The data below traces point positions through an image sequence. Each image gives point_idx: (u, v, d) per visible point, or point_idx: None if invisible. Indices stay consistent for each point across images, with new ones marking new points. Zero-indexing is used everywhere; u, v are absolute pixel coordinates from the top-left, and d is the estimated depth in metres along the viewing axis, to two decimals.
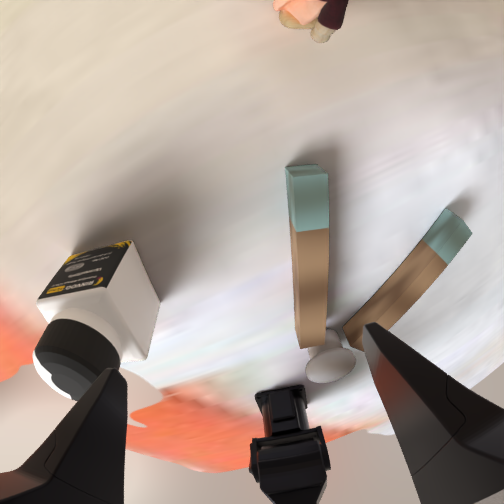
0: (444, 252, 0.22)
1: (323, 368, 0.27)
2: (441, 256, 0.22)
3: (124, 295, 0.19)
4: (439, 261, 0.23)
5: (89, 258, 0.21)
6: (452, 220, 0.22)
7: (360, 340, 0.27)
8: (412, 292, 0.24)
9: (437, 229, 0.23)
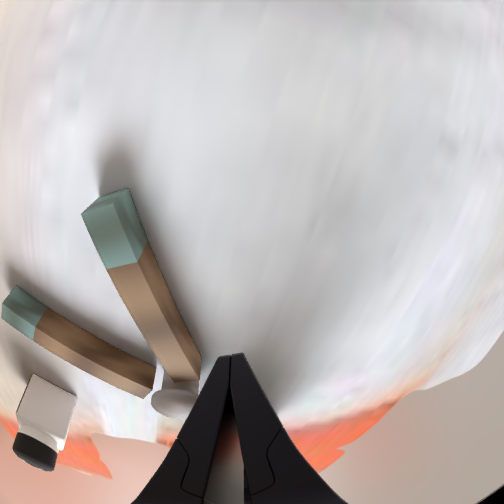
0: (111, 259, 0.17)
1: (171, 409, 0.24)
2: (114, 265, 0.17)
3: (32, 409, 0.23)
4: (120, 271, 0.17)
5: None
6: None
7: (174, 375, 0.23)
8: (144, 316, 0.19)
9: None
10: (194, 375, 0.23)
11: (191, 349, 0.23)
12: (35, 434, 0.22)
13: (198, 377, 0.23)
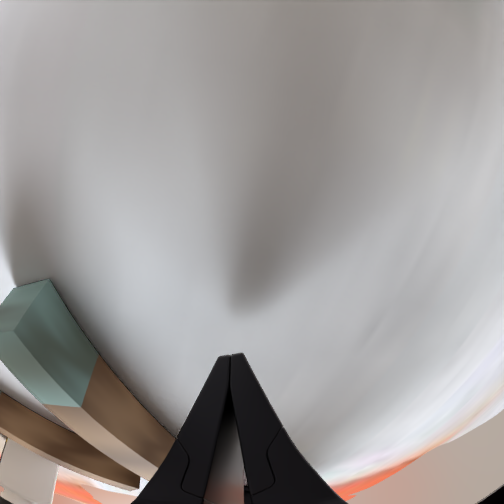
0: (43, 396, 0.08)
1: None
2: (50, 402, 0.08)
3: (11, 476, 0.15)
4: (61, 410, 0.08)
5: None
6: None
7: None
8: (111, 450, 0.10)
9: None
10: None
11: None
12: (18, 502, 0.13)
13: None
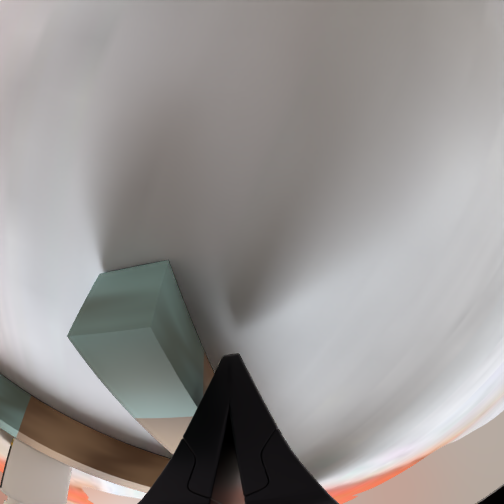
0: (145, 409, 0.08)
1: None
2: (152, 416, 0.08)
3: (19, 485, 0.13)
4: (165, 422, 0.08)
5: None
6: None
7: None
8: None
9: None
10: None
11: None
12: None
13: None
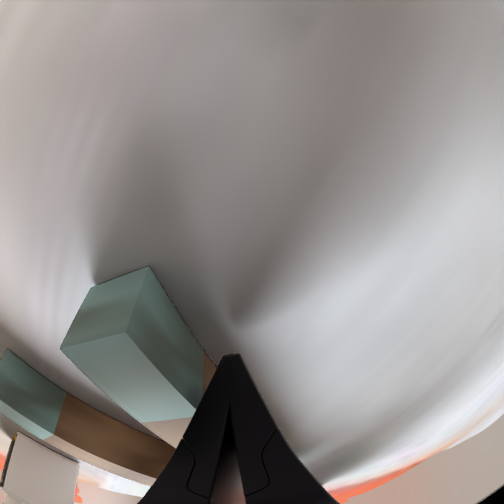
0: (147, 412, 0.08)
1: None
2: (154, 419, 0.08)
3: (23, 484, 0.12)
4: (169, 424, 0.08)
5: (9, 450, 0.15)
6: None
7: None
8: None
9: None
10: None
11: None
12: None
13: None
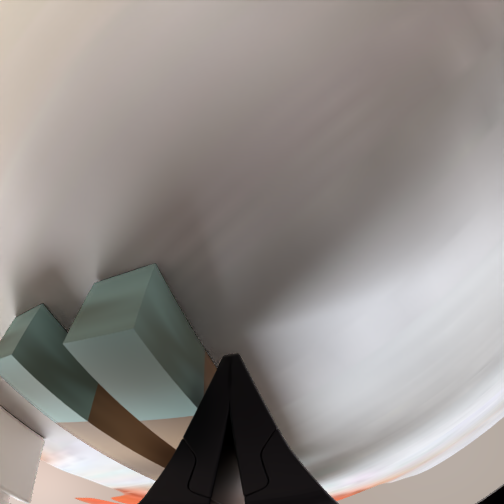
0: (147, 410, 0.08)
1: None
2: (155, 417, 0.08)
3: None
4: (169, 423, 0.08)
5: None
6: None
7: None
8: None
9: None
10: None
11: None
12: None
13: None
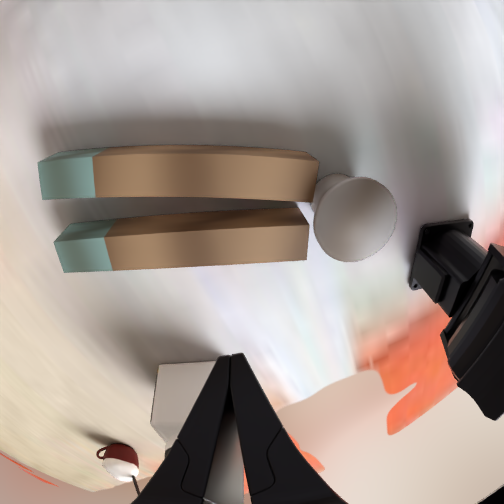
0: (85, 185, 0.14)
1: (352, 236, 0.16)
2: (92, 185, 0.14)
3: (172, 407, 0.22)
4: (99, 180, 0.14)
5: None
6: None
7: (295, 192, 0.16)
8: (165, 179, 0.15)
9: None
10: (306, 164, 0.15)
11: (271, 151, 0.16)
12: None
13: (312, 160, 0.15)
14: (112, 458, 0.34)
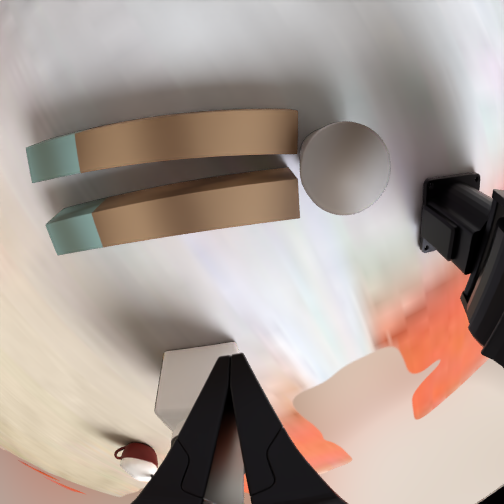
0: (70, 162, 0.14)
1: (344, 186, 0.15)
2: (76, 161, 0.14)
3: (176, 393, 0.21)
4: (82, 156, 0.14)
5: None
6: None
7: (277, 145, 0.15)
8: (144, 145, 0.14)
9: None
10: (284, 114, 0.14)
11: (250, 109, 0.15)
12: None
13: (291, 110, 0.14)
14: (129, 457, 0.34)
